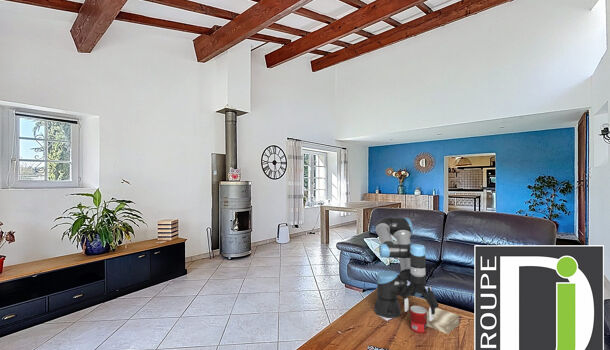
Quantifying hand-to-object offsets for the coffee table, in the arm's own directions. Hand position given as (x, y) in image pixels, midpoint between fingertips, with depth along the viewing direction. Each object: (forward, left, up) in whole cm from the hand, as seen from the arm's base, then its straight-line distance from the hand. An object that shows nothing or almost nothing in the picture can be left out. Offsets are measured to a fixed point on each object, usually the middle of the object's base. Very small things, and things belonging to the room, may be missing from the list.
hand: (418, 315), depth 148 cm
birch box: (+5, +14, -8) cm, 17 cm away
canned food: (0, 0, -8) cm, 8 cm away
